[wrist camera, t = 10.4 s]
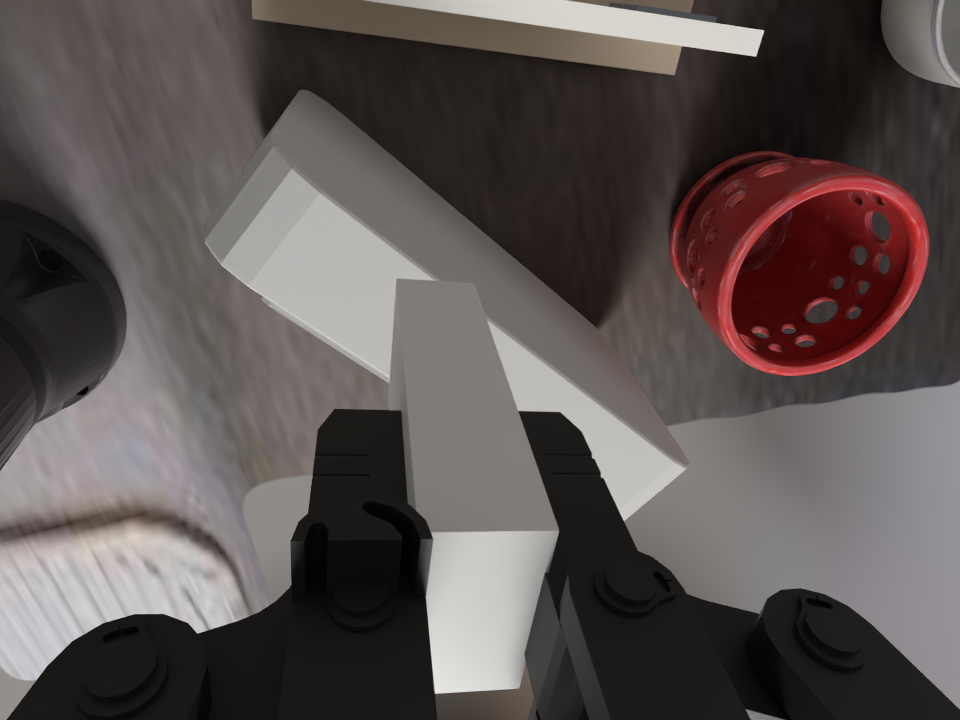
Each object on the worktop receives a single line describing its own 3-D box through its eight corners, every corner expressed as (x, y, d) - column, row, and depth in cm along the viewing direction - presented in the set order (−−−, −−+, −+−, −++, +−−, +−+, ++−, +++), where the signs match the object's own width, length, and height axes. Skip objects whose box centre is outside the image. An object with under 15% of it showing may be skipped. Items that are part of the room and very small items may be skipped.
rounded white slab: (236, 177, 42) (157, 290, 26) (305, 81, 39) (263, 144, 24) (540, 397, 54) (607, 561, 39) (605, 333, 52) (704, 481, 36)
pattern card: (255, 18, 37) (220, 28, 29) (251, -86, 35) (212, -108, 26) (668, 73, 42) (744, 96, 34) (690, -14, 40) (777, -13, 31)
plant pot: (835, 128, 46) (968, 170, 35) (791, 295, 52) (893, 371, 42) (660, 135, 44) (747, 181, 34) (638, 307, 51) (705, 388, 41)
